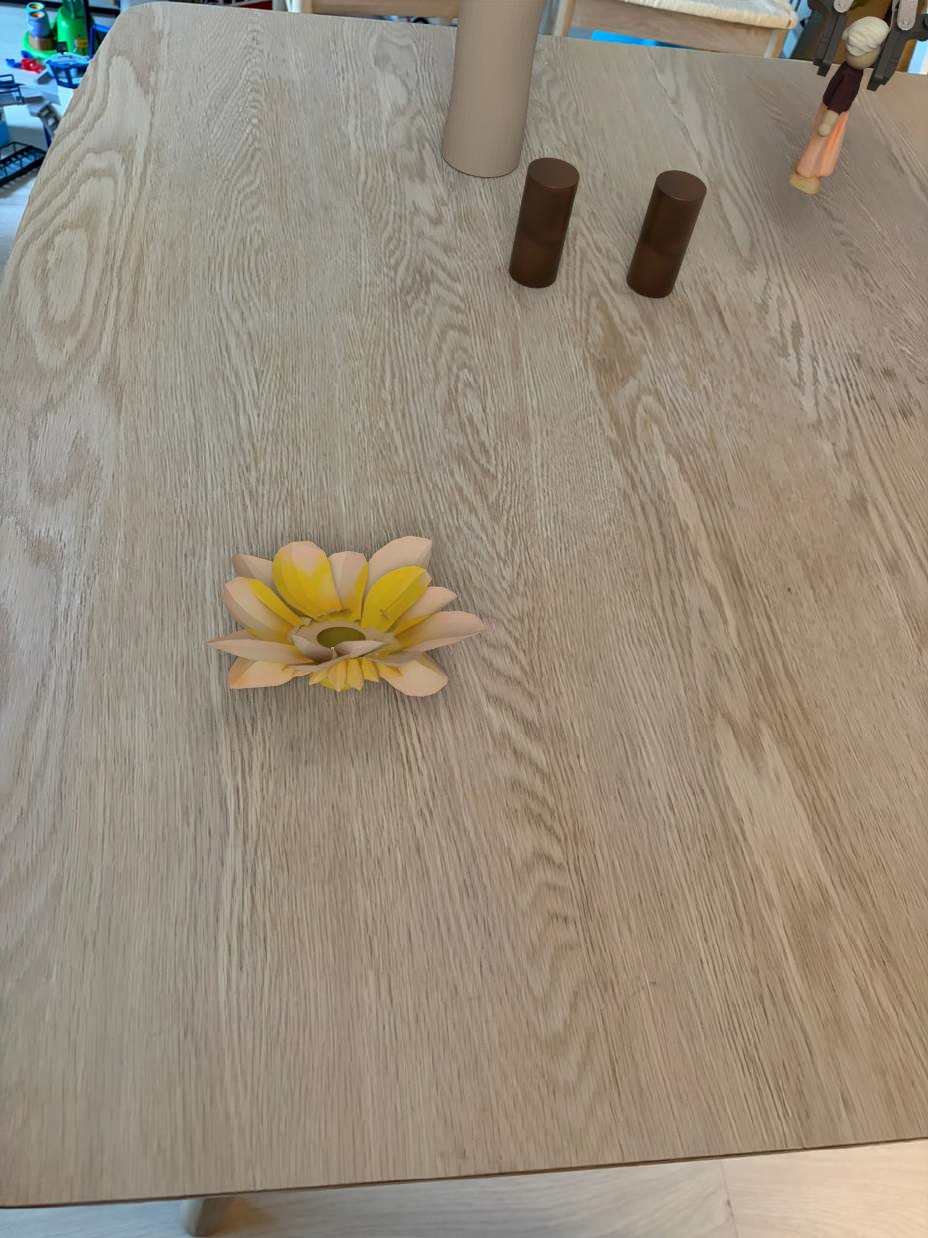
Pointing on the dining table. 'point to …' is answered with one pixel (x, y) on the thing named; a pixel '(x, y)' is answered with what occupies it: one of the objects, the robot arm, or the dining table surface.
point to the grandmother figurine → (838, 104)
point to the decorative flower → (341, 618)
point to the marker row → (550, 216)
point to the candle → (491, 85)
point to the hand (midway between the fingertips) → (848, 78)
